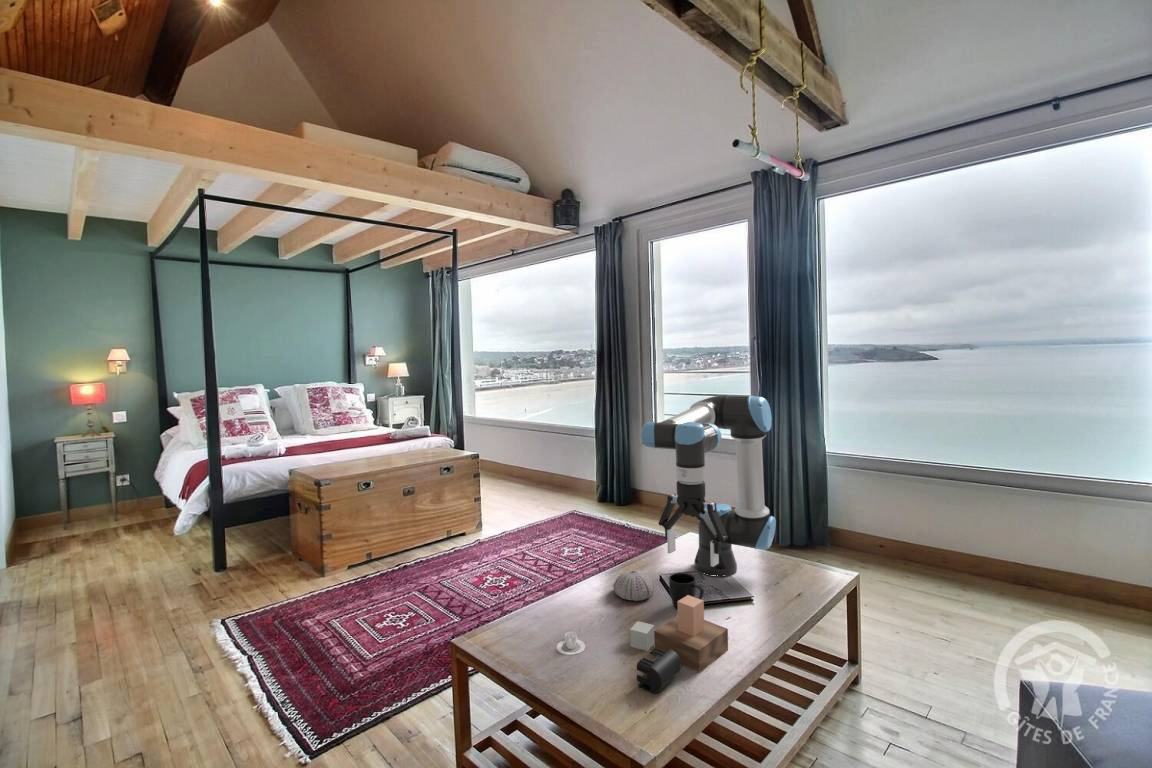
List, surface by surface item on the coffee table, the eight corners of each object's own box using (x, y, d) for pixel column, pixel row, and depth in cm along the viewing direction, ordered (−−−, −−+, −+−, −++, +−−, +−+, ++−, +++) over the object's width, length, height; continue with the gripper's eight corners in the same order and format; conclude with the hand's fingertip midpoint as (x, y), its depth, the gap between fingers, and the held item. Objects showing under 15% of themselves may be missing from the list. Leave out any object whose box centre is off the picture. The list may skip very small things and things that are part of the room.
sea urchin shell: (629, 582, 194) (628, 560, 193) (662, 593, 185) (661, 570, 184) (605, 596, 184) (604, 573, 183) (639, 608, 175) (638, 583, 174)
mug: (693, 621, 165) (693, 590, 165) (664, 606, 175) (663, 577, 174) (711, 612, 171) (710, 582, 170) (681, 598, 180) (681, 570, 179)
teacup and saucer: (566, 637, 160) (566, 623, 159) (591, 643, 156) (591, 629, 156) (551, 652, 152) (550, 638, 152) (576, 659, 148) (576, 644, 148)
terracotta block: (688, 623, 153) (687, 595, 152) (704, 629, 149) (703, 600, 148) (677, 630, 149) (677, 601, 149) (693, 636, 146) (693, 607, 145)
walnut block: (684, 632, 159) (683, 612, 159) (728, 650, 149) (727, 628, 149) (654, 652, 150) (654, 630, 149) (699, 673, 140) (699, 650, 139)
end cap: (661, 699, 130) (661, 671, 130) (636, 688, 134) (635, 661, 134) (682, 678, 138) (681, 652, 137) (657, 668, 142) (656, 643, 142)
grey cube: (637, 638, 157) (637, 621, 157) (654, 642, 155) (653, 625, 154) (630, 646, 153) (630, 629, 153) (647, 651, 150) (646, 633, 150)
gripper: (644, 476, 154) (647, 550, 155) (725, 492, 136) (726, 575, 138) (661, 471, 159) (663, 543, 161) (740, 485, 141) (741, 565, 143)
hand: (692, 558), depth 149 cm, fingers open, 13 cm apart
